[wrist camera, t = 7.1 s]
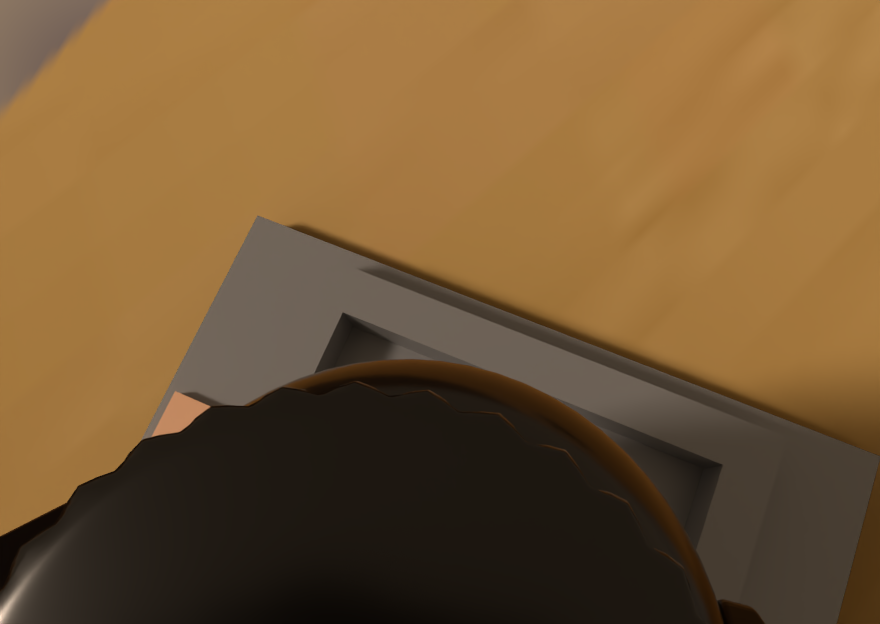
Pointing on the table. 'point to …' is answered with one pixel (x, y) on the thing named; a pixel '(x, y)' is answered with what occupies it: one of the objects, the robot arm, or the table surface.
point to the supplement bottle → (369, 516)
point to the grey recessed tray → (566, 379)
